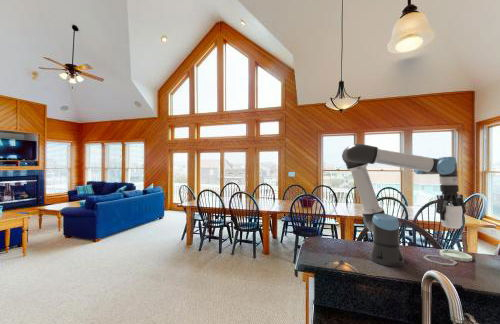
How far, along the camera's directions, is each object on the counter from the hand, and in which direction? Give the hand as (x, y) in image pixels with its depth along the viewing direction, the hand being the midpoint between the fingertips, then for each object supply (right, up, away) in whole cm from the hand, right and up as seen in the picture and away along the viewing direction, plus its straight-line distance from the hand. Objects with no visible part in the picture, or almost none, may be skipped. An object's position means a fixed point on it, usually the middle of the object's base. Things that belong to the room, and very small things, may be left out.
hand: (452, 225), depth 119 cm
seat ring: (-11, -17, -4) cm, 21 cm away
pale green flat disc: (+3, -17, +1) cm, 18 cm away
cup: (0, -1, 0) cm, 1 cm away
